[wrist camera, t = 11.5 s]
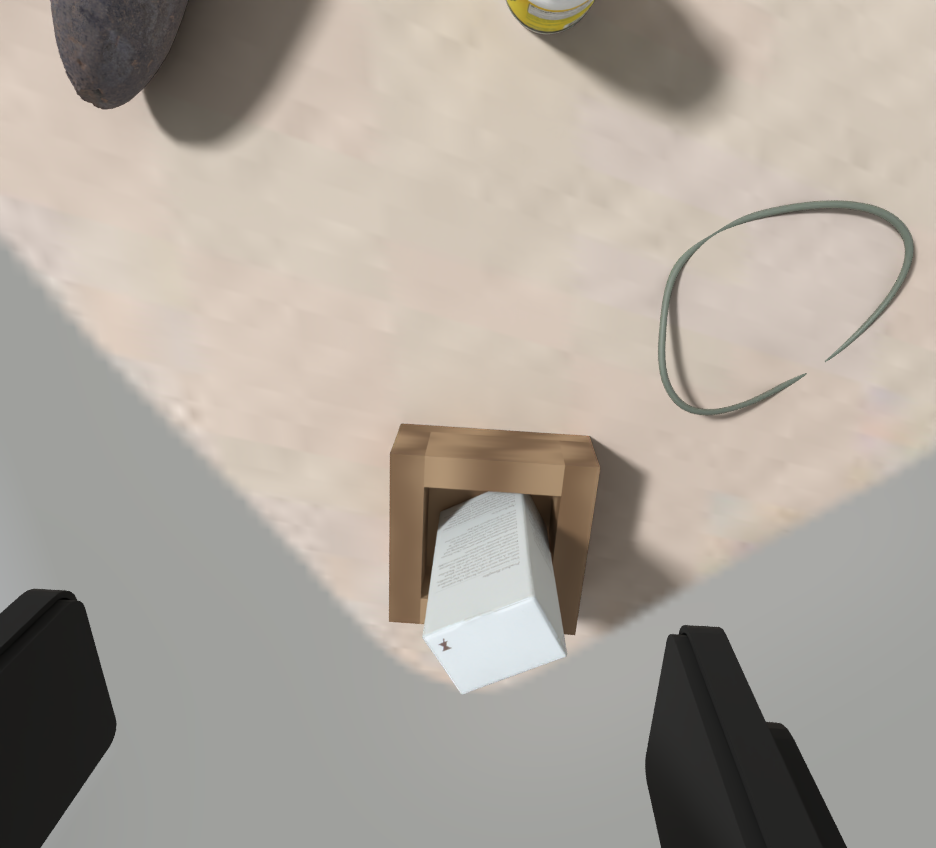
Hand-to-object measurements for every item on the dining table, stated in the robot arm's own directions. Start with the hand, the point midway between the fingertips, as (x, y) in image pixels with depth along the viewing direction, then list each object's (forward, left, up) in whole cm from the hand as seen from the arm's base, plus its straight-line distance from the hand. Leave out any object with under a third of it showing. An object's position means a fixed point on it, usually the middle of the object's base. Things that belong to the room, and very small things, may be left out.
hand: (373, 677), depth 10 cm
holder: (-2, +14, -29) cm, 32 cm away
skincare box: (-3, +14, -28) cm, 31 cm away
